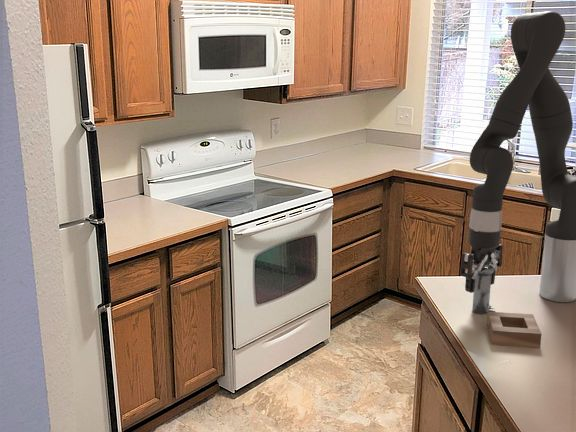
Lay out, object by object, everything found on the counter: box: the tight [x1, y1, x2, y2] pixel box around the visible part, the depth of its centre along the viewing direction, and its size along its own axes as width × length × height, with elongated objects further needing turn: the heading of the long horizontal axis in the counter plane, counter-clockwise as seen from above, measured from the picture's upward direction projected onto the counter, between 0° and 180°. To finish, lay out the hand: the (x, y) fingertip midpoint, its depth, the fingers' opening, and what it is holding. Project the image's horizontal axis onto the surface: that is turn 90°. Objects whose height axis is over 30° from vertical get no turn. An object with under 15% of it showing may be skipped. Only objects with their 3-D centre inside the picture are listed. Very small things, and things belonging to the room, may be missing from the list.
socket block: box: [486, 311, 543, 349], centre depth 143 cm, size 10×10×4 cm
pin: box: [471, 264, 494, 315], centre depth 156 cm, size 5×5×12 cm
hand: (479, 287), depth 156 cm, fingers open, 8 cm apart
